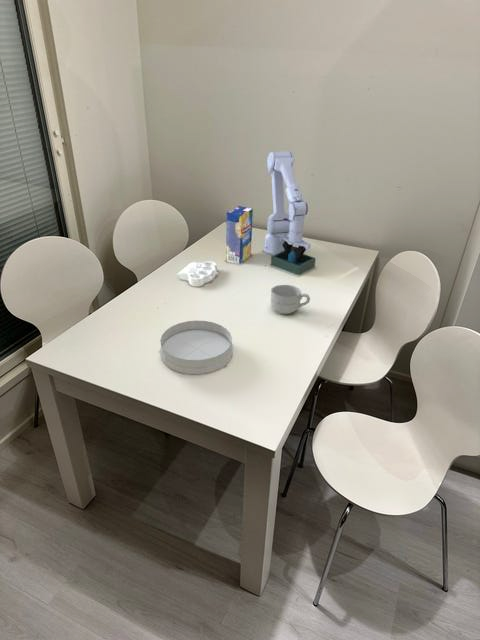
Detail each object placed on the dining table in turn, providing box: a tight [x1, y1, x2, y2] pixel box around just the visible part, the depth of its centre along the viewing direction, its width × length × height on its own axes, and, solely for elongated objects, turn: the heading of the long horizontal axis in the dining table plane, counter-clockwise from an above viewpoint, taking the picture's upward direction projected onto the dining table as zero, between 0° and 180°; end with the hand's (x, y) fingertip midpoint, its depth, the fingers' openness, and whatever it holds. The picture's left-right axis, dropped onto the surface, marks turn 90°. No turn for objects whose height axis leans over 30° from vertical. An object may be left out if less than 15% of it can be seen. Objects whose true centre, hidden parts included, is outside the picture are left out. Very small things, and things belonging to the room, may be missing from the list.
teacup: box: [270, 284, 311, 315], centre depth 163 cm, size 14×11×8 cm
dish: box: [159, 320, 233, 375], centre depth 140 cm, size 22×22×5 cm
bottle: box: [288, 246, 298, 265], centre depth 195 cm, size 5×5×8 cm
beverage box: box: [225, 205, 254, 264], centre depth 198 cm, size 7×11×22 cm, turn 153°
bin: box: [270, 250, 317, 276], centre depth 197 cm, size 15×12×5 cm
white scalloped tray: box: [177, 260, 219, 288], centre depth 186 cm, size 3×18×15 cm
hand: (293, 260), depth 196 cm, fingers closed on bottle, 4 cm apart
